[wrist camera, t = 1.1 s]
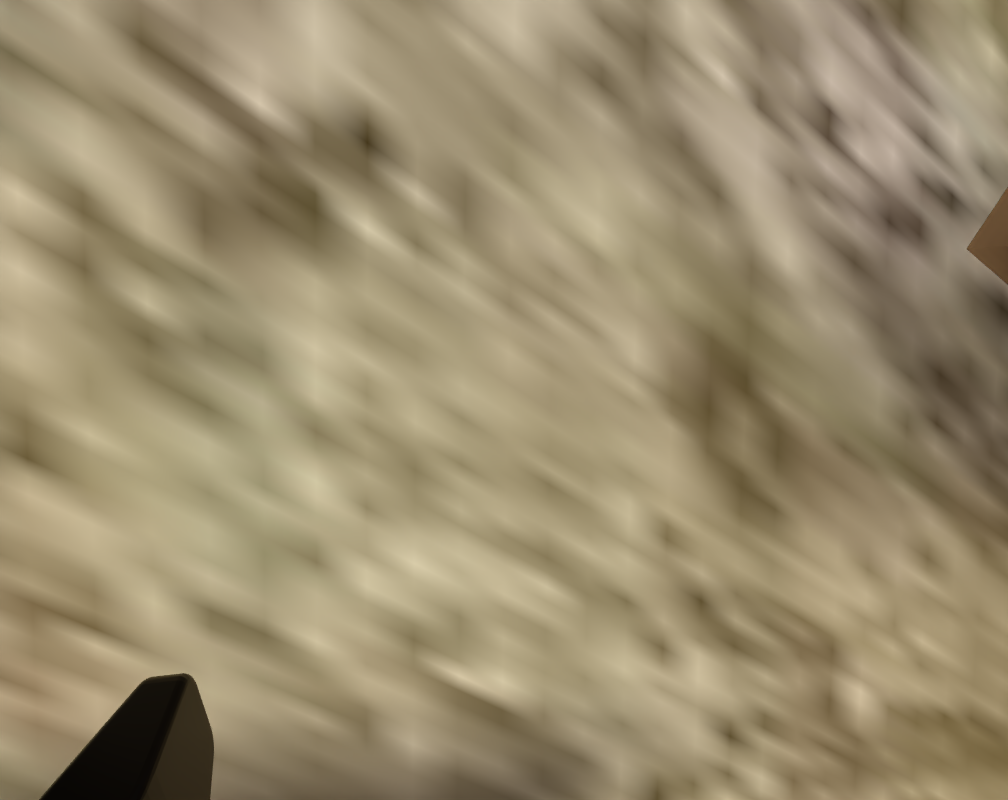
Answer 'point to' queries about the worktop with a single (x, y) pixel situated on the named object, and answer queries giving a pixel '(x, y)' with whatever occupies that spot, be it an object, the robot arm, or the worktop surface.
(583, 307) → the worktop surface
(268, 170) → the worktop surface
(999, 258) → the walnut block
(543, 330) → the worktop surface
